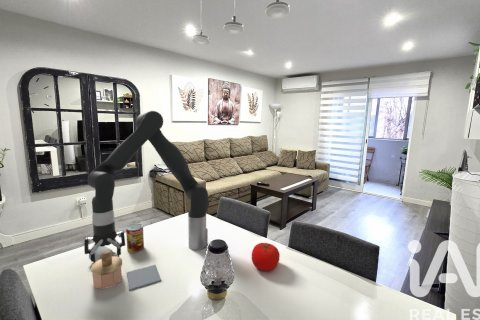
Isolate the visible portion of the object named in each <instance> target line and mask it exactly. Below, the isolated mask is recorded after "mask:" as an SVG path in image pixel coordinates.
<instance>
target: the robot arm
mask: <svg viewBox="0 0 480 320" xmlns="http://www.w3.org/2000/svg"><path fill="white" fill-rule="evenodd" d="M135 122H136V126H137V128H136V129H135V130H134V131H133V132H132V133H131V134H130V135H129V136H128V137H127V138H125V140H123V141H122V142H121V143H120V144H119V145H118V146H117V147H116V148H114V150H113V151H112V152H111V153H110V155H108V157H107V158H106V159H105V160H104V161H102V162H101V163H100V164H99V165H98V166H96V167H95V168H94V169H93V170H92V171H91V172H90V173H89V175H88V177H87V184H88V186H89V187H91V188H93V189H94V191H95V195H94V196H93V197H92V199H91V204H92V205H91V208H92V210H91V211H92V216H91V217H92V221H91V223H92V229H93V236H92V237H91V236H90V237H88V236H85V237H84V241H83V243H84V245H83V246H84V255H89V254H90V255H91V260H90V262H92V264H94V263H95V251H96V250H97V249H98V247H99V246H101V247H103V246H110V245H113V246H114V247H116V253H117V257H120V256H121V255H122V247H125V246H126V237H125V232H124V230H120V231H118V232H116V223H115V222H116V221H115V219H116V218H115V211H114V202H113V201H114V200H113V197H114V192H115V188H116V187H115V186H116V185H115V184H116V183H115V178H114V176H113V175H114V174H116V173H119V172H121V171H122V170H123V169H124V168H125V167H126V166H127V165H128V163H130V161H131V160H132V158H133V157H134V156H135V154H137V152H138V151H139V150H140V149H141V148H142V147H143V145H145V143H146V142H147V141H148V142H149V143H150V144H151V145H152V147H153V148H154V150H155V151H156V153H157V154H158V155H159V157H160V158H161V160H162V163H164V165H165V166H166V168H167V169H168V171H169V172H170V173H171V174H172V176H173V177H174V178H175V179H176V180H177V182H178V183H179V184H180V186H181V187H182V190H183V191H184V193H185V195H186V197H187V199H188V200H190V208H189V209H188V211H187V212H188V213H187V215H188V218H187V219H188V224H187V225H188V248H189V249H190V250H192V251H193V250H194V251H198V250H202V249H205V248H206V247H208V246H209V245H208V244H209V241H208V240H209V238H208V235H209V233H208V230H209V229H208V228H207V211H208V209H209V208H208V207H209V192H208V190H207V189H206V188H205V187H204V186H203V185H201V184H200V183H199V182H198V181H197V180H196V179H195V177H194V176H193V174H192V173H191V170H190V167H189V164H188V162H187V160H186V158H185V157H184V155H183V154H182V152H181V151H180V149H179V148H178V147H177V146H176V145H175V144H173V142H171V141H170V140H169V139H168V138H167V137H166V136H165V135H164V133H163V132H162V130H161V128H162V127H163V126H164V117H163V116H162V113H160V112H158V111H156V110H149V111H144V112H143V113H140V114H139V115H138V116H137V117H136V121H135ZM117 237H118V238H120V239H121V242H119V241H118V240H117V239H116V238H117ZM91 242H93V243H94V244H93V246H92V247H91V248H89V245H90V244H91ZM207 245H208V246H207Z"/></svg>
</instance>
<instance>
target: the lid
mask: <svg viewBox="0 0 480 320" xmlns="http://www.w3.org/2000/svg"><path fill="white" fill-rule="evenodd" d="M122 266H123V259H122V258H121V257H120V256H119V257H116V256H112V254H111V251H110V250H106V251H103V252H102V253H101V259H100V260H98V261H96V262H95V263H92V265H91V267H90V268H91V274H92V275H93V274H95V275H106V274H110V273H112V272H115V271H116V270H118V269H119V268H120V267H121V268H122Z"/></svg>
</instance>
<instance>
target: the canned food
mask: <svg viewBox="0 0 480 320" xmlns="http://www.w3.org/2000/svg"><path fill="white" fill-rule="evenodd" d="M125 234H126V249H127V250H126V251H127V252H128V253H132V254H133V253H139V252H141V251H143V250H144V248H145V243H144V242H145V241H144V225H143V224H142V223H138V222H137V223H132V224H129V225H127V226H126V227H125Z"/></svg>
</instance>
